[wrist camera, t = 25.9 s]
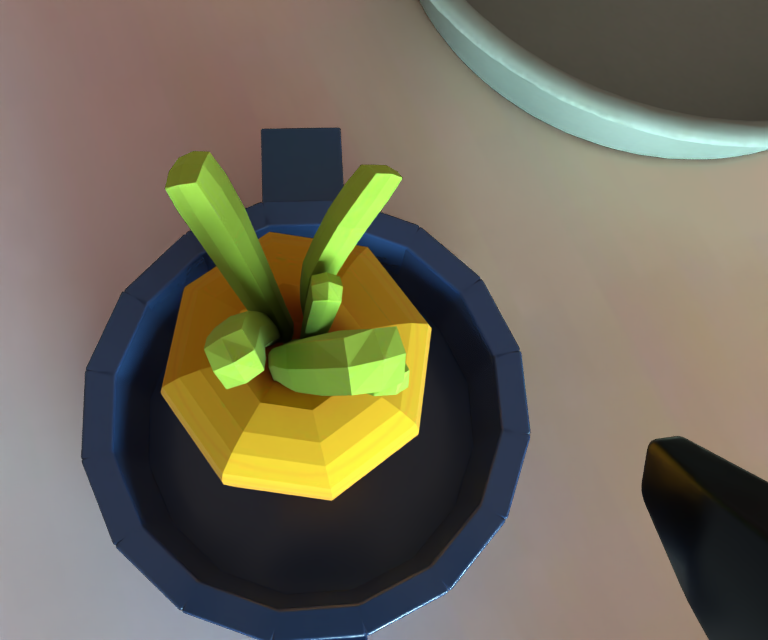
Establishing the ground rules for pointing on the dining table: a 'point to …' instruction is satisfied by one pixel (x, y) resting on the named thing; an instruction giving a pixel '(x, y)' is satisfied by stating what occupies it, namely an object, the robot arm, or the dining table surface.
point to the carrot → (293, 341)
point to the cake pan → (624, 68)
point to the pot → (297, 513)
